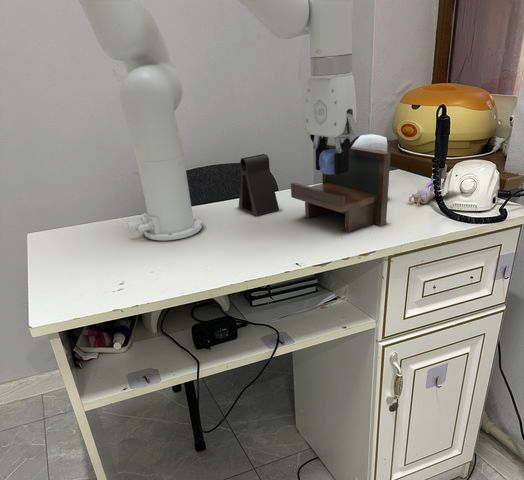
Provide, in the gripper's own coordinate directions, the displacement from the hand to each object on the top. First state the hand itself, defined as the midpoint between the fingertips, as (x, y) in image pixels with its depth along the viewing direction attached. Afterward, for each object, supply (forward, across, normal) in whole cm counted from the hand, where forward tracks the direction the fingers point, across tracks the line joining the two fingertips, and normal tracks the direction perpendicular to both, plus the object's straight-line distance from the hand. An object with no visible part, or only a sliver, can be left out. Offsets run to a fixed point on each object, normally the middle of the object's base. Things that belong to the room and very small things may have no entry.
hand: (331, 170), depth 98 cm
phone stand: (+11, -20, -6) cm, 24 cm away
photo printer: (+11, -15, +24) cm, 31 cm away
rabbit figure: (+11, +5, +27) cm, 30 cm away
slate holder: (+11, 0, 0) cm, 11 cm away
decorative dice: (+1, 0, 0) cm, 1 cm away
